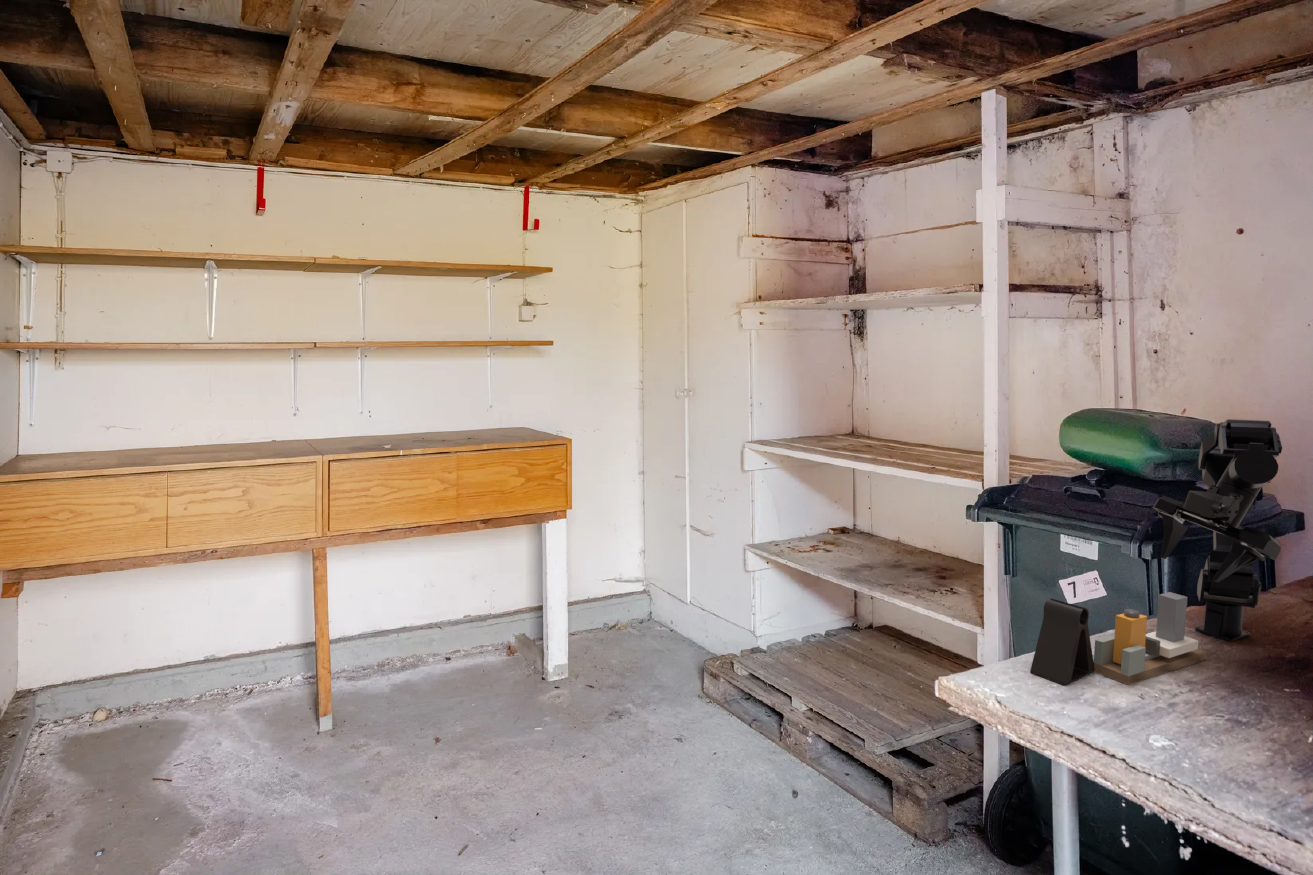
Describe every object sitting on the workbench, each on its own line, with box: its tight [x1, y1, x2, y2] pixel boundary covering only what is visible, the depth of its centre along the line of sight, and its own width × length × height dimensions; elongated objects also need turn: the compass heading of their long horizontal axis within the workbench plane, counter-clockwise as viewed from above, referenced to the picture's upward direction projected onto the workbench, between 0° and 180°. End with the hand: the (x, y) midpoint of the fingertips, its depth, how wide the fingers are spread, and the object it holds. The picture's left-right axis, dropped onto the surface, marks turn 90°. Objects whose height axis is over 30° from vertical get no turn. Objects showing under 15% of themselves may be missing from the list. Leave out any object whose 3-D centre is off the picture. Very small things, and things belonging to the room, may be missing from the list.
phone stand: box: [1029, 598, 1095, 686], centre depth 134 cm, size 9×6×12 cm, turn 123°
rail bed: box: [1094, 648, 1207, 686], centre depth 137 cm, size 21×6×2 cm, turn 116°
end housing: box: [1093, 635, 1146, 676], centre depth 133 cm, size 4×6×4 cm, turn 26°
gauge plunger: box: [1113, 608, 1148, 664], centre depth 133 cm, size 4×3×9 cm
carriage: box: [1145, 591, 1199, 658], centre depth 138 cm, size 9×6×9 cm, turn 116°
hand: (1188, 569), depth 139 cm, fingers open, 9 cm apart
